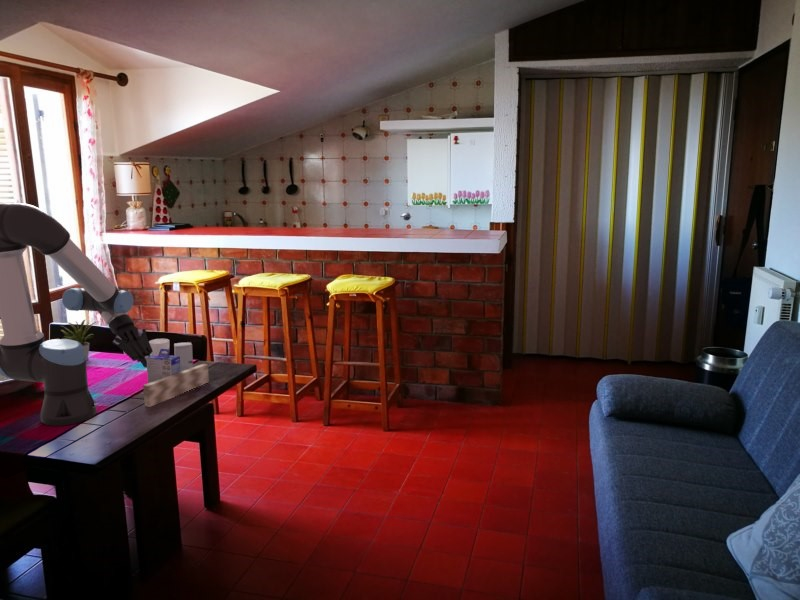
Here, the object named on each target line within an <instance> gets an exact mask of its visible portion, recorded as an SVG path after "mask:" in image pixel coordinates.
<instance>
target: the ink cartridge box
mask: <svg viewBox="0 0 800 600" xmlns="http://www.w3.org/2000/svg"><path fill="white" fill-rule="evenodd" d="M162 351H166V352H168V353H167V354H165V353H161V352H162ZM170 351H171V350H170V348H169V349H161V350H160V352H159V355H157V354H155V355H152V356H150V357H148V358H146V360H147V368H146V371H147V372H146V373H147V374H146V375H147V376H146V377H147V384H148V383H151V382H154V381H156V380H159V379H162V378H165V377H168V376H170V375H173V374H176V373H179V372H181V371H180V356H175V355H172V354H171V355H170Z"/></svg>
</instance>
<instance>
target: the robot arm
mask: <svg viewBox="0 0 800 600" xmlns="http://www.w3.org/2000/svg"><path fill="white" fill-rule="evenodd" d="M28 247H32V248H33V249H36V251H38V253H40V254H42V255H43V256H49V258H51V259H52V261H54V262H55V264H57V265H58V266H59V267H60V268H61V269H62V270H63V271H64V272H65V273H67V275H68V276H70V278H72V279H73V280H74V281H75V282H76V283H77V284H78V285H79V286H80V287H74V288H73V287H72V288H68V289H66V290H65V291H64V292H63V294H62V297H61V299H62V300H61V301H62V305H63V307H64V308H65V309H67V310H68V311H75V312H78V311H87V312H88V311H89V312H98V313H99V316H101V318H102V320H104V322H105V323H106V324H107V325H108V328H109V329H110V332H111V333H112V334H114V335H115V336H114V337H115V338H114V340H112V344H113V345H115V346H116V347H118V348H119V349H120V350H121V351H122V352H123V353H124V354H125V355H126V356H128V357H129V359H131V360H132V361H133V362H135V361H136V362H137V363H140V364H141V365H142V366H143V368H145V369H147V360H146V358H148V357H150V354H151V353H152V352H153V350H152V348H151V345H150V343H149V341H150V340H149V339H148V336H147V330H146V329H145V328H142V329H139V328H138V326H136V325H134V321H133V319H132V318H131V317H130V315H129V314H128V312H130V311H131V310H132V308H133V306H134V300H135V299H134V296H133V294H132V293H131V292H130V291H128V290H124V289H119V288H118V287H117V286H116V285H115V284H114V283H113V282H112V281H111V280H110V279H109V278H108V277H107V276H106V275H105V274H104V272H102V271H101V270H100V268H99V267H98V266H97V265H96V264H95V263H94V262H93V261H92V260H91V259H90V258H89V257H88V256H87V255H86V254H85V252H83V250H81V248H80V247H78V245H77V244H76V243H75V242H74V241H73V240H72V239H71V234H70V232H69V231H68V230H67V229H66V228H65V227H64V226H63V224H61V223H60V222H59V221H58V220H56V219H55V218H54V217H53V216H51V215H50V214H49V213H48V212H46V211H44V210H43V209H41V208H39V207H37V206H35V205H32V204H28V203H23V202H22V203H14V202H13V203H12V202H0V321H1V322H0V323H1V327H2V331H3V336H2V337H1V338H0V375H1V376H3V377H4V378H7V379H9V380H10V379H11V380H14V381H20V382H21V381H23V382H24V381H25V382H34V383H43V388H44V391H43V392H44V396H43V397H44V399H43V402H42V405H41V406H42V407H41V410H40V414H39V415H40V422H41V423H42V424H44V425H46V426H53V427H55V426H56V427H57V426H61V427H62V426H68V425H74V424H78V423H82V422H85V421H88V420H90V419H92V418H93V417H95V416H96V415H97V413H98V411H97V410H98V409H97V404H96V402H95V400H94V398H93V396H92V394H91V392H90V389H89V385H88V384H89V383H88V371H87V360H86V355H85V353H84V348H83V345H82V344H81V343H79V342H78V341H75V340H71V339H69V338H61V339H60V338H54V339H53V338H52V339H47V340H45V335H44V332H42V331H40V330H38V329H37V324H36V323H37V322H36V319H35V312H34V307H33V302H32V297H31V292H30V291H31V290H30V286H29V281H28V277H27V276H28V275H27V271H26V266H25V259H24V252H25V251H26V250H27V248H28Z"/></svg>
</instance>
